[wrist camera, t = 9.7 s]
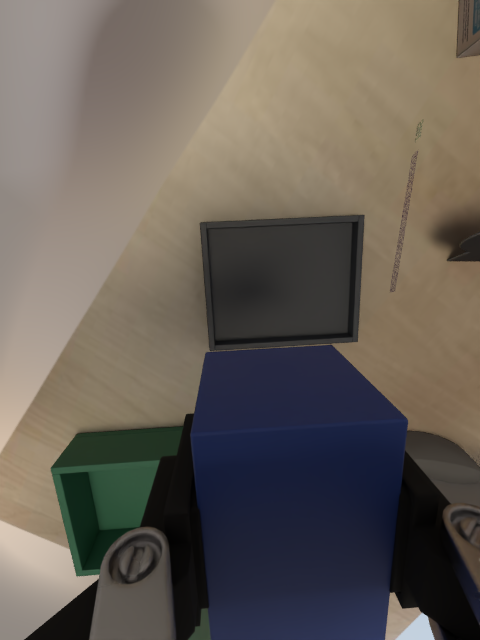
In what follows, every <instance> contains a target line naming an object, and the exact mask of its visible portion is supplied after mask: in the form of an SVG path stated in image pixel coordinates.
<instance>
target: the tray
mask: <svg viewBox="0 0 480 640" xmlns="http://www.w3.org/2000/svg"><path fill="white" fill-rule="evenodd" d="M200 230H201V243H202V257H203V270H204V283H205V296H206V309H207V322H208V335H209V348H210V351H215V350H216V351H217V350H233V349H249V348H266V347H282V346H298V345H315V344H331V343H348V342H358V327H359V308H360V289H361V271H362V252H363V233H364V215H352V216H330V217H308V218H287V219H265V220H243V221H221V222H201V223H200Z"/></svg>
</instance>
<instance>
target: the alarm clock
mask: <svg viewBox="0 0 480 640" xmlns="http://www.w3.org/2000/svg"><path fill="white" fill-rule="evenodd" d="M405 451H406V452H407V453H408V454H409V455H410V456H411V458H412V459H413V460H414V461H415V462H416V463H417V465H418V466H419V467H420V468H421V469H422V470H423V472H424V473H425V474H426V475H427V476H428V477H429V479H430V480H431V481H432V482H433V483H434V484H435V486H436V487H437V488H438V489H439V490H440V491H441V493H442V494H443V495H444V496H445V497H446V498H447V500H448V501H449V502H450V503H451V504H453V503H466V504H471V505H475V506H478V507H480V467H479V466H478V465H477V464H476V463H475V462H474V461H473V459H472V458H471V457H470V456H469V455H468V454H467V453H466V452H465V451H464V450H463V449H461V448H460V447H459V446H457V445H456V444H455V443H453V442H451V441H448V440H446V439H444V438H442V437H439V436H436V435H432V434H429V433H424V432H414V431H407V436H406V446H405Z"/></svg>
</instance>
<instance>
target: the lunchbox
mask: <svg viewBox="0 0 480 640" xmlns="http://www.w3.org/2000/svg"><path fill="white" fill-rule="evenodd" d="M182 430H183V426H180V427H166V428H152V429H137V430H123V431H109V432H94V433H80V434H77V435H76V436H75V437H74V438H73V440H72V441H71V442H70V444H69V445H68V446H67V448H66V449H65V450H64V451H63V453H62V454H61V455H60V457H59V458H58V459H57V461H56V462H55V463H54V464H53V466H52V467H51V472H52V474H53V475H52V476H53V480H54V485H55V489H56V493H57V497H58V501H59V505H60V509H61V514H62V518H63V522H64V526H65V530H66V534H67V538H68V543H69V547H70V551H71V555H72V559H73V563H74V567H75V571H76V576H88V575H99V574H100V569H101V565H102V561H103V558H104V556H105V554H106V552H107V551H108V549H109V548H110V546H111V545H112V544H113V543H114V542H115V541H116V540H117V539H118V538H119V537H121V536H122V535H124V534H125V533H127V532H129V531H131V530H134V529H136V528H140V525H141V521H142V518H143V515H144V511H145V508H146V505H147V501H148V498H149V495H150V491H151V488H152V485H153V481H154V478H155V475H156V471H157V468H158V465H159V462H160V459H161V457H162V456H172V455H177V452H178V447H179V443H180V439H181V434H182Z"/></svg>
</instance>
